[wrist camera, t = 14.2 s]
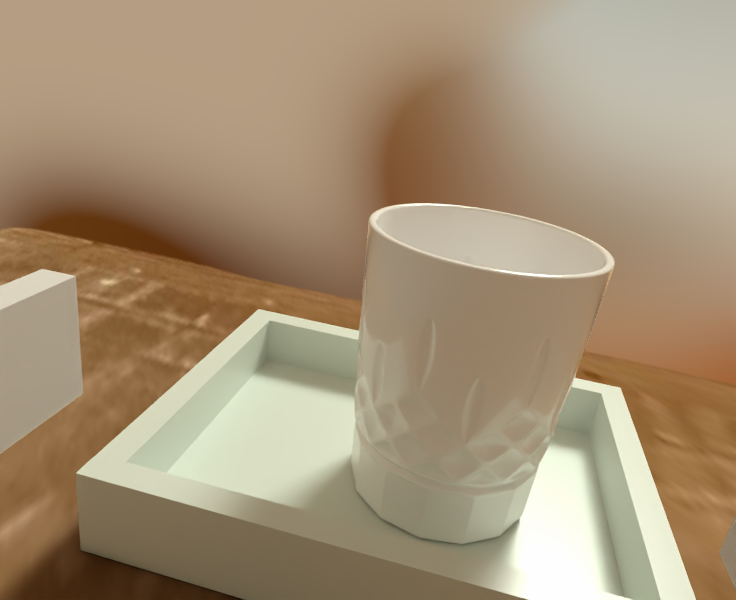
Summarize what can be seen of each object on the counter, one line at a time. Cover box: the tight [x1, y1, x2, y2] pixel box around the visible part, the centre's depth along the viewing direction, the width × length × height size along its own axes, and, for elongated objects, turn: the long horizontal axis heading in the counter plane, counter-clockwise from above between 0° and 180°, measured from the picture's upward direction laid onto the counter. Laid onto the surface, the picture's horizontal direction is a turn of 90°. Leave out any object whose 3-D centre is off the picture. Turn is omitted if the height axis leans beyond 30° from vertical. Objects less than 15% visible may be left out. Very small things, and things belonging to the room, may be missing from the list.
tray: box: [76, 309, 696, 600], centre depth 23 cm, size 18×14×3 cm
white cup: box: [351, 203, 614, 544], centre depth 21 cm, size 8×8×10 cm
